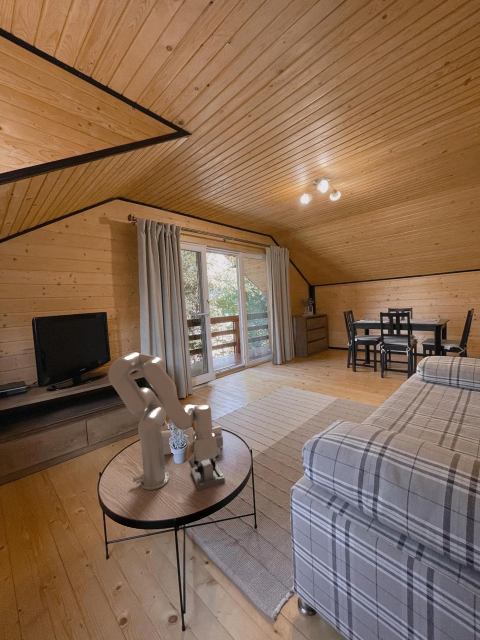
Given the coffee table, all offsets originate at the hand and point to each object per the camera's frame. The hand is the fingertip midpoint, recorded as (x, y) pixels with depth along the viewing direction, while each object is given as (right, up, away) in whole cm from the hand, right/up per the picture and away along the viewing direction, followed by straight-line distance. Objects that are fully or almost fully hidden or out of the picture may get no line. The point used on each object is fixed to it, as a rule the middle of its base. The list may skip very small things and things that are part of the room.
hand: (206, 470), depth 124 cm
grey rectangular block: (0, -2, 0) cm, 2 cm away
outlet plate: (0, -2, +21) cm, 21 cm away
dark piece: (-2, -2, +13) cm, 14 cm away
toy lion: (-6, -2, +32) cm, 33 cm away
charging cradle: (0, -3, 0) cm, 3 cm away
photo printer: (-25, -3, +23) cm, 34 cm away
